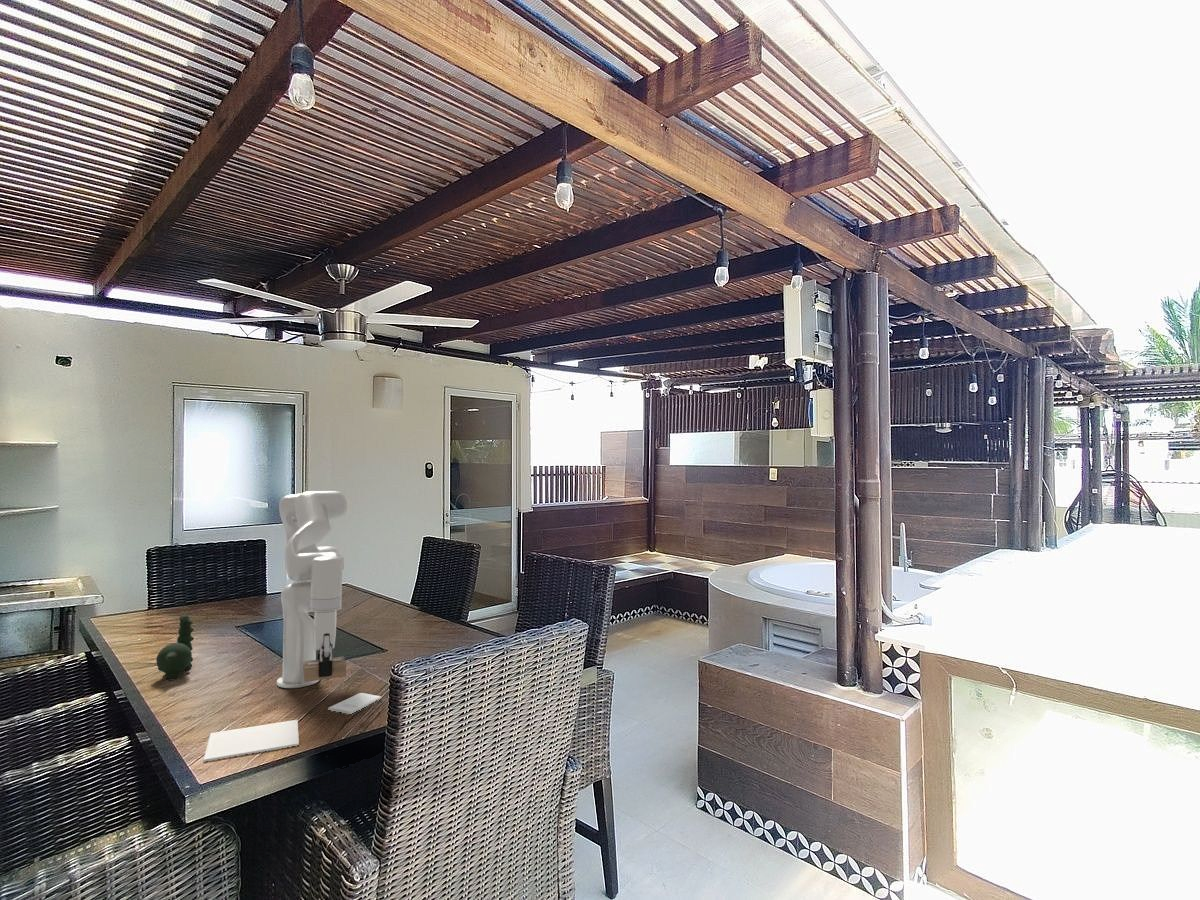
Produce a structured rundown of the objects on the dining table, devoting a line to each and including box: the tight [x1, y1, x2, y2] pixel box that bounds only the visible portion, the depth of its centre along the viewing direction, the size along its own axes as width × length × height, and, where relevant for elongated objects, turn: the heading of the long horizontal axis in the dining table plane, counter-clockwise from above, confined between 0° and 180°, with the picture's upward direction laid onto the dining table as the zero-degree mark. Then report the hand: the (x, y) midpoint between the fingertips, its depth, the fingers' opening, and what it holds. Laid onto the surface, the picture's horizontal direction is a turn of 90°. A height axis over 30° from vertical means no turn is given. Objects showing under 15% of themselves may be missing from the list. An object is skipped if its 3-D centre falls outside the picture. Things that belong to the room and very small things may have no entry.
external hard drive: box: [327, 692, 382, 715], centre depth 181 cm, size 2×8×12 cm
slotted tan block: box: [303, 656, 347, 682], centre depth 165 cm, size 6×10×4 cm, turn 118°
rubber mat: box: [203, 719, 300, 763], centre depth 157 cm, size 16×20×1 cm
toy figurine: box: [155, 613, 194, 681], centre depth 207 cm, size 9×19×25 cm
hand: (324, 671), depth 165 cm, fingers closed on slotted tan block, 6 cm apart
